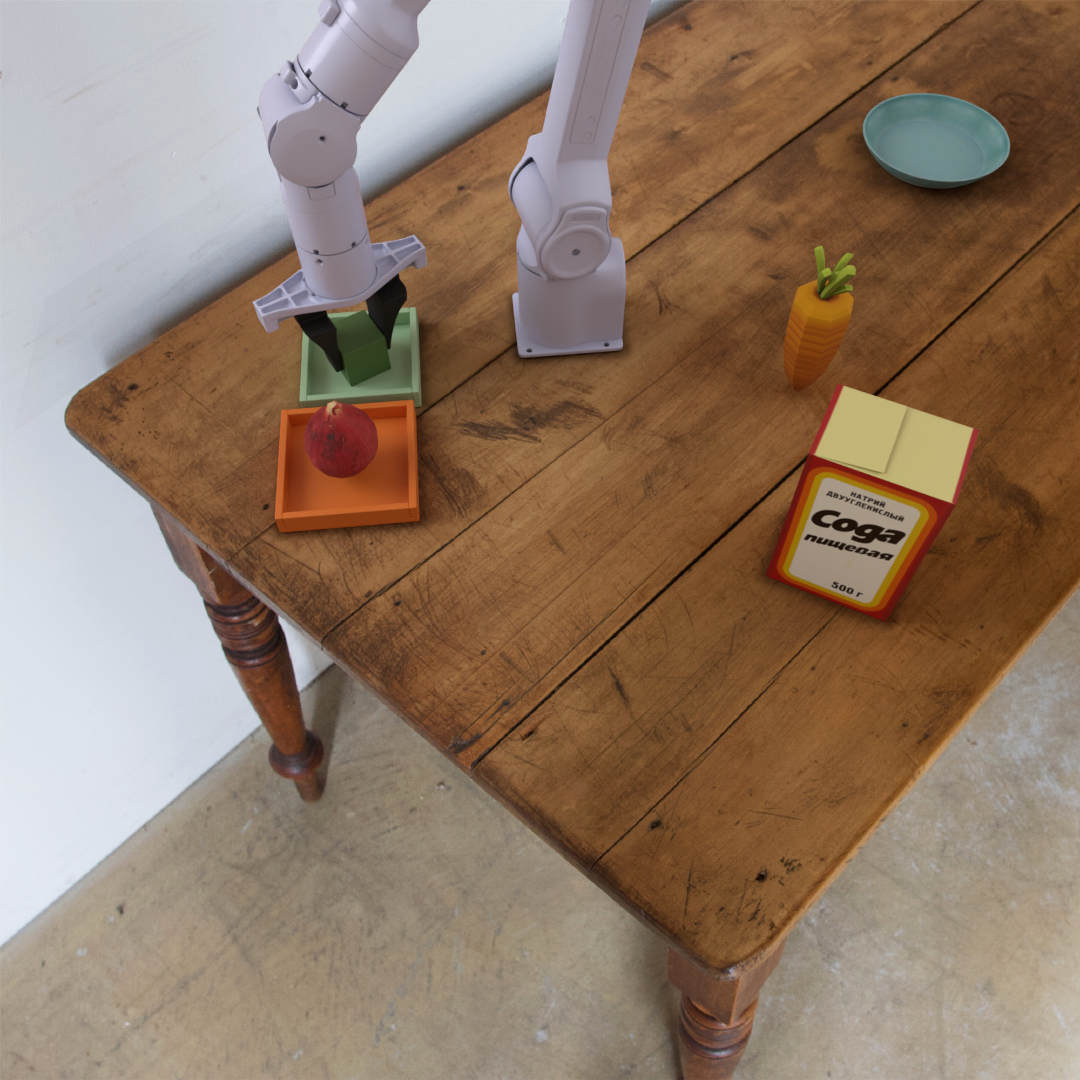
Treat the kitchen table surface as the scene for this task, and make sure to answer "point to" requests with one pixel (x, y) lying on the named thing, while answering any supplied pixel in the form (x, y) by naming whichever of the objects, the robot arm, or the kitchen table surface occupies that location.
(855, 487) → the baking soda box
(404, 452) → the orange tray
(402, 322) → the green tray
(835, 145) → the kitchen table surface
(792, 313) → the carrot
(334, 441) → the red pomegranate
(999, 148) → the saucer
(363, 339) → the green block
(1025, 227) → the kitchen table surface
